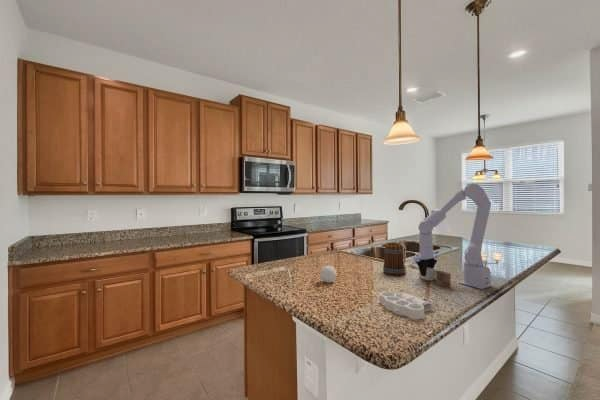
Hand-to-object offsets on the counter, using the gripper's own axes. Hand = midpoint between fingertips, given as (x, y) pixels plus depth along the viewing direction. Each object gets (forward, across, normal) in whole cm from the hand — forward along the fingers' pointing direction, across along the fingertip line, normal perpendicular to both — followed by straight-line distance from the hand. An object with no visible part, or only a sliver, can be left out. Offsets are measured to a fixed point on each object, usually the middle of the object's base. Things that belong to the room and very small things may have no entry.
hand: (426, 274), depth 128 cm
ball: (+2, +42, -20) cm, 47 cm away
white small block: (+2, 0, 0) cm, 2 cm away
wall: (+2, +4, +11) cm, 12 cm away
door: (+1, -2, +4) cm, 5 cm away
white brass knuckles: (+2, +36, +18) cm, 40 cm away
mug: (+2, +3, -16) cm, 16 cm away
